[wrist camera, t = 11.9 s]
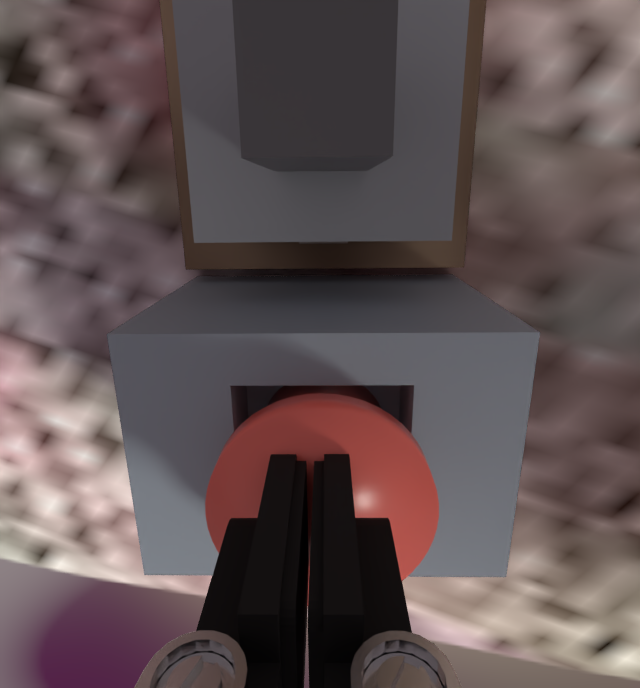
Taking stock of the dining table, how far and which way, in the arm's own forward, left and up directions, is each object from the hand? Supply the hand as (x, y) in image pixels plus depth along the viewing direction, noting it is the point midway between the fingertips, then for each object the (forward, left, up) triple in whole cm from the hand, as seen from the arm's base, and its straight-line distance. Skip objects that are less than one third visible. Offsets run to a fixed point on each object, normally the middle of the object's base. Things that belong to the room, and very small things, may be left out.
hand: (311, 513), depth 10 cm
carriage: (0, -8, -8) cm, 11 cm away
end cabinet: (0, 0, -10) cm, 10 cm away
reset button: (0, 0, -4) cm, 4 cm away
